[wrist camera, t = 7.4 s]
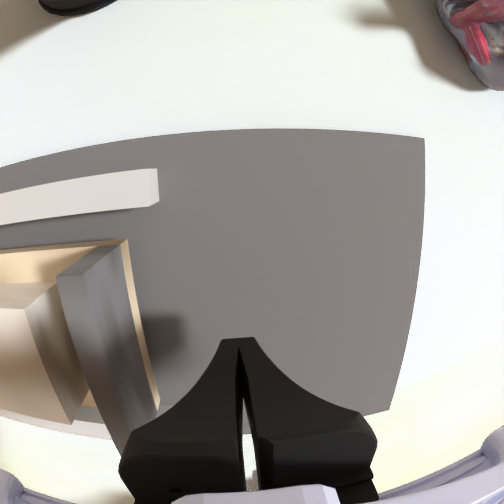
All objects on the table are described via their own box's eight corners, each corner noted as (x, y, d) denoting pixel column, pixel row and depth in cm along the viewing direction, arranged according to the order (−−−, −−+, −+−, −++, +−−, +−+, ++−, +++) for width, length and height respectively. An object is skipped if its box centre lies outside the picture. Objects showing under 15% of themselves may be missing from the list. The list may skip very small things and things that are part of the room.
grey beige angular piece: (163, 386, 16) (145, 466, 10) (10, 371, 15) (-30, 423, 10) (135, 232, 14) (81, 275, 8) (-29, 249, 13) (-92, 280, 7)
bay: (387, 407, 19) (408, 441, 15) (2, 407, 17) (-17, 434, 13) (421, 138, 14) (466, 135, 10) (-64, 190, 12) (-100, 199, 8)
